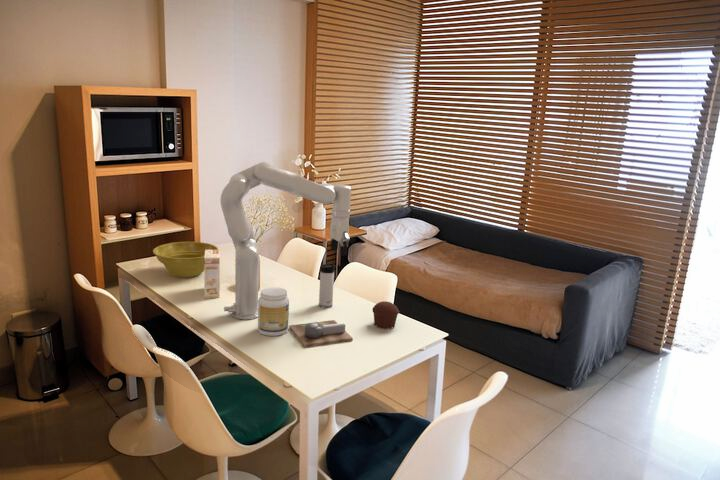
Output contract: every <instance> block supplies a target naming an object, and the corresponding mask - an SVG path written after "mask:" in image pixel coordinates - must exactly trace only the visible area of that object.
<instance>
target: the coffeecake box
mask: <svg viewBox="0 0 720 480" xmlns="http://www.w3.org/2000/svg"><path fill="white" fill-rule="evenodd" d="M203 273H204V278H203V279H204V281H203V282H204V286H203V287H204V291H203V292H204V296H203V297H204V299H219V298H220V296H221V295H220V293H221V251H220V249H218V250H205V255H204V271H203Z"/></svg>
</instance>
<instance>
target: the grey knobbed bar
mask: <svg viewBox="0 0 720 480" xmlns="http://www.w3.org/2000/svg"><path fill="white" fill-rule="evenodd" d="M308 323H309V324H307V325H305V336H306V337H308V338H312V339H316V338H320V337H322V336H323V335H326V334H333V333H341V332H345V331H346V324H345V323H344V322H341V323H338V324H331V325H323V326H322V325H321V324H318V323H314V322H308Z"/></svg>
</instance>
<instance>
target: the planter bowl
mask: <svg viewBox="0 0 720 480" xmlns="http://www.w3.org/2000/svg"><path fill="white" fill-rule="evenodd" d="M205 250H219V247H217V246H216V245H214V244H211V243H208V242H203V241H202V242H200V241H177V242H176V241H175V242H169V243H164V244H161V245H158V246H156V247H155V248H153V250H152V253H153V255H155V256H156V257H155V258H156V259H157V260H158V262H160V263H161V264H163V265H164V267H165V269H166V270H167V271H168V273H169V274H170V275H172V276H173V275H174V277H176V276H177V277H176V278H181V277H188V278H193V277H194V276H195V277H197V275H198V276H199V274H200V275H201V274H203V273H204V255H205ZM195 277H194V278H195Z"/></svg>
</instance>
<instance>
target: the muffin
mask: <svg viewBox="0 0 720 480" xmlns="http://www.w3.org/2000/svg"><path fill="white" fill-rule="evenodd" d="M372 313H373V320H374V321H373V322H374V326H376V327H377V328H378V329H382V328H383V330H389V329H390V330H391V329H393V328H395V326H396V322H397V319H398V315H399V314H400V310H399V309H398V306H396V305H395V303H392V302H390V301H386V300H385V301H379V302H377V303H376V304H375V305H374V306H373V307H372ZM392 327H393V328H392ZM388 328H389V329H388Z"/></svg>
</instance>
